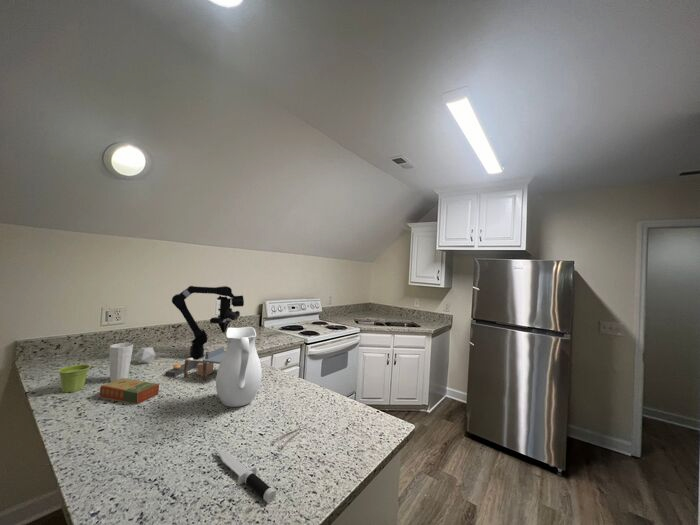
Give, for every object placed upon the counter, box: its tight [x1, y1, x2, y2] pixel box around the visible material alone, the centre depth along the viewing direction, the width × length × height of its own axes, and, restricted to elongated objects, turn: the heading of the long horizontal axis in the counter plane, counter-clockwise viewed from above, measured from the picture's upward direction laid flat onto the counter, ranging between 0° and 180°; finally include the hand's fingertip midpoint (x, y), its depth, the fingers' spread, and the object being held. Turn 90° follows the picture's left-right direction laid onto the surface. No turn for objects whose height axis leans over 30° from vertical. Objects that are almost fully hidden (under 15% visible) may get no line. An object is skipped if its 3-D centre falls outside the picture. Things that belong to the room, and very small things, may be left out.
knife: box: [214, 448, 277, 505], centre depth 71 cm, size 26×2×5 cm
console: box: [165, 362, 200, 378], centre depth 139 cm, size 5×16×2 cm, turn 169°
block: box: [196, 362, 215, 377], centre depth 137 cm, size 5×5×5 cm
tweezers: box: [270, 425, 307, 450], centre depth 90 cm, size 18×5×2 cm, turn 148°
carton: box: [99, 378, 160, 405], centre depth 110 cm, size 10×18×5 cm, turn 77°
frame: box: [183, 351, 210, 381], centre depth 137 cm, size 11×15×8 cm
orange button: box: [172, 363, 182, 369], centre depth 135 cm, size 3×3×1 cm
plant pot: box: [57, 364, 91, 394], centre depth 113 cm, size 9×9×9 cm
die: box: [134, 346, 156, 365], centre depth 148 cm, size 8×9×10 cm
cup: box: [108, 342, 134, 383], centre depth 125 cm, size 8×8×16 cm
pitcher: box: [215, 326, 263, 408], centre depth 107 cm, size 24×17×28 cm
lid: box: [202, 346, 226, 365], centre depth 135 cm, size 11×16×3 cm
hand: (223, 332), depth 168 cm, fingers closed
